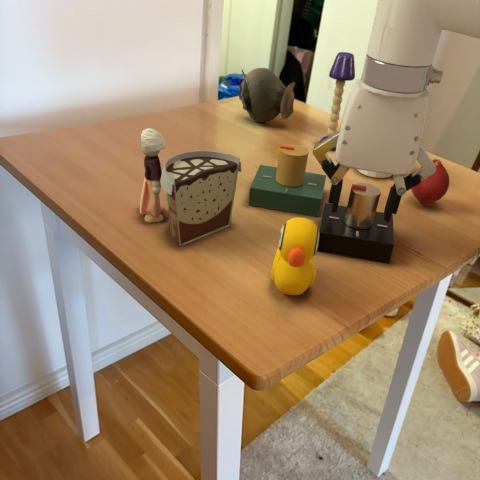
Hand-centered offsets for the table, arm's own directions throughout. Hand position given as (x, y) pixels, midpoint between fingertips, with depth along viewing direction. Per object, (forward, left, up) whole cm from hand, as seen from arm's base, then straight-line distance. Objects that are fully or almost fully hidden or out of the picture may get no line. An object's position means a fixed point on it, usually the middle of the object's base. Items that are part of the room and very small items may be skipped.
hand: (360, 211), depth 73 cm
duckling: (+7, +14, -5) cm, 17 cm away
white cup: (-3, -27, -5) cm, 28 cm away
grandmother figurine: (+29, +3, -5) cm, 30 cm away
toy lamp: (+6, -36, -5) cm, 37 cm away
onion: (-11, -16, -5) cm, 20 cm away
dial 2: (0, 0, -2) cm, 2 cm away
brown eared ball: (+21, -44, -5) cm, 49 cm away
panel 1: (+11, -10, -5) cm, 16 cm away
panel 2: (0, 0, -5) cm, 5 cm away
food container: (+23, +4, -5) cm, 24 cm away
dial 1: (+11, -10, -2) cm, 15 cm away
